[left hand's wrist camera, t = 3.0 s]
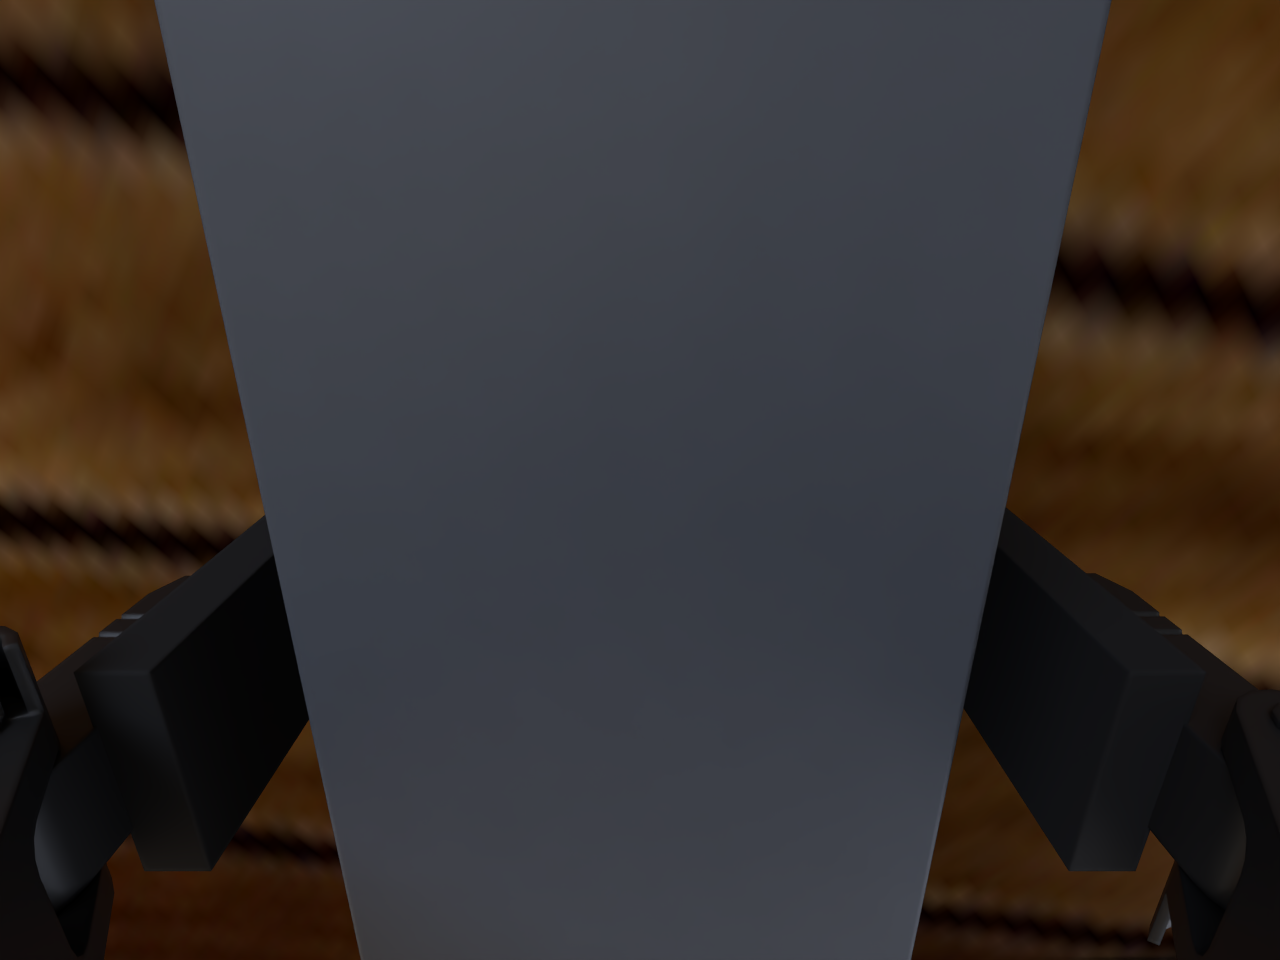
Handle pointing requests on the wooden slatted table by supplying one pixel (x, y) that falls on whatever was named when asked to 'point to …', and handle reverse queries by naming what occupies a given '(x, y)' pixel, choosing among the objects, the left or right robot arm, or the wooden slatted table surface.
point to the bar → (634, 436)
